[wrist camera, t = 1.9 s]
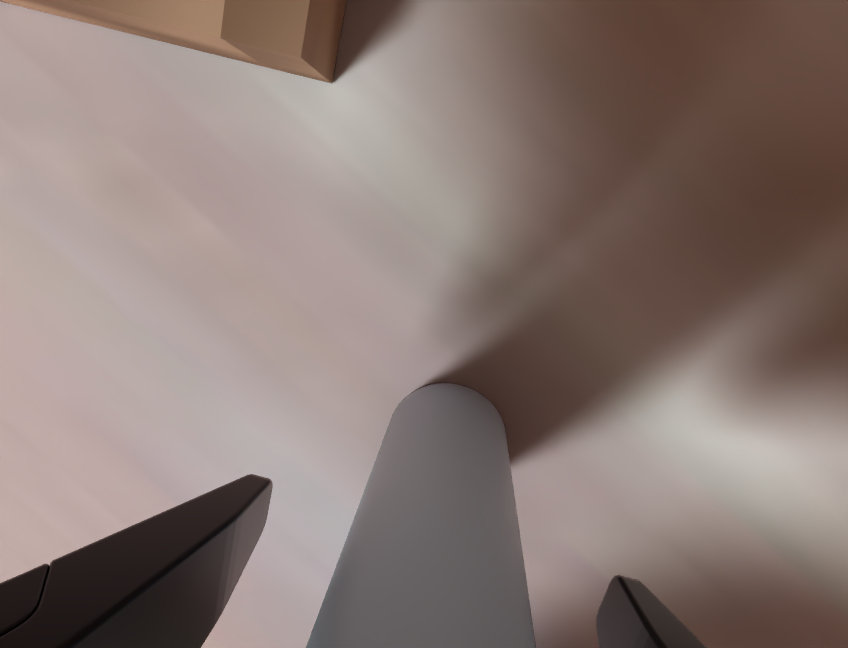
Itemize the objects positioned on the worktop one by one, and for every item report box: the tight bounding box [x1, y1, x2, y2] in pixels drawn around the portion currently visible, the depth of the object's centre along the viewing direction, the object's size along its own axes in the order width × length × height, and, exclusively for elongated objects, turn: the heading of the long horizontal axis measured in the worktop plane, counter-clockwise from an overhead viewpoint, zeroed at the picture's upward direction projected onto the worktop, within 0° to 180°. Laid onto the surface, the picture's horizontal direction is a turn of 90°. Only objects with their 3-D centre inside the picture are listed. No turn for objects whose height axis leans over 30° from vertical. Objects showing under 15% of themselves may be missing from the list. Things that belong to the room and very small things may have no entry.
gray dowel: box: [306, 383, 536, 648], centre depth 8 cm, size 3×3×10 cm
